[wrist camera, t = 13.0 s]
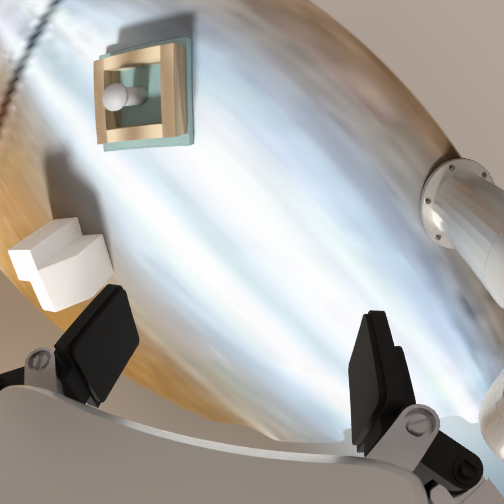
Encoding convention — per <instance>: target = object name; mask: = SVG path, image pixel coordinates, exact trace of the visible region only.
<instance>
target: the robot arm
mask: <svg viewBox="0 0 504 504" xmlns="http://www.w3.org/2000/svg"><path fill="white" fill-rule="evenodd" d="M450 166H451V167H450ZM449 167H450V168H449ZM426 198H427V200H426ZM420 215H421V220H422V223H423V226H424V228H425V230H426V231H427V233H428V234H429V235H430V237H431V238H432V239H433V240H434V241H435V242H436V243H438V244H440V245H441V246H444V247H447V248H453V249H456V250H457V251H458V253H459V254H460V255H461V256H462V258H463V259H464V260H465V261H466V263H467V264H468V265H469V266H470V268H471V269H472V270H473V272H474V273H475V274H476V276H477V277H478V278H479V279H480V281H481V282H482V284H483V285H484V286H485V288H486V289H487V290H488V292H489V293H490V294H491V296H492V297H493V298H494V300H495V301H496V302H497V303H498V305H499V306H500V307H502V308H503V309H504V190H502V189H501V188H499V187H497V186H496V185H494V182H493V179H492V178H491V176H490V174H489V172H488V171H487V170H486V169H485V168H484V167H483V166H482V165H480V164H479V163H477V162H475V161H473V160H470V159H466V158H455V159H451V160H448V161H446V162H444V163H442V164H441V165H440V166H438V167H437V168H436V169H435V170H434V171H433V172H432V174H431V175H430V176H429V178H428V179H427V181H426V183H425V185H424V188H423V190H422V194H421V199H420ZM436 235H437V236H436ZM138 344H139V335H138V332H137V329H136V325H135V322H134V319H133V315H132V312H131V308H130V305H129V301H128V297H127V293H126V291H125V290H123V288H122V286H120V285H113V284H108V285H106V286H105V288H104V289H103V290H102V291H101V292H100V293H99V294H98V295H97V296H96V297H95V299H94V300H93V301H92V302H91V303H90V304H89V305H88V306H87V307H86V309H85V310H84V311H83V312H82V313H81V314H80V315H79V317H78V318H77V319H76V320H75V321H74V322H73V324H72V325H71V326H70V327H69V328H68V329H67V331H66V332H65V333H64V334H63V335H62V337H61V338H60V339H59V340H58V341H57V343H56V344H55V345H54V347H55V349H56V350H55V351H54V352H53V351H52V350H51V349H49V348H38V349H36V350H34V351H33V352H31V353H30V354H29V355H28V357H27V358H26V361H25V366H24V367H21V368H18V369H15V370H12V371H9V372H5V373H2V374H0V504H504V498H503V496H502V495H501V494H500V492H499V491H498V490H497V488H496V487H495V486H494V485H493V483H492V482H491V481H490V479H489V478H488V479H486V480H485V478H484V477H483V476H482V475H483V464H482V462H481V460H480V458H479V457H478V456H477V455H475V454H474V453H472V452H471V451H469V450H468V449H466V448H465V447H463V446H462V445H460V444H459V443H458V442H456V441H454V440H453V439H452V438H450V437H449V436H447V435H446V434H444V433H443V432H441V431H440V430H439V428H440V420H439V417H438V415H437V414H436V412H435V411H434V410H433V409H431V408H430V407H428V406H426V405H422V404H416V400H415V396H414V391H413V387H412V383H411V379H410V375H409V371H408V367H407V363H406V359H405V355H404V352H403V349H402V347H401V346H394V342H393V339H392V335H391V331H390V328H389V324H388V320H387V317H386V313H385V311H374V310H370V311H369V312H368V314H364V315H363V318H362V321H361V325H360V328H359V332H358V336H357V339H356V342H355V346H354V349H353V352H352V356H351V359H350V362H349V367H348V374H349V388H350V405H351V426H352V444H353V445H357V452H364V456H365V458H363V457H354V456H337V455H319V454H303V453H291V452H281V451H271V450H262V449H254V448H247V447H240V446H234V445H228V444H222V443H217V442H212V441H206V440H202V439H197V438H193V437H188V436H184V435H179V434H175V433H172V432H168V431H164V430H160V429H156V428H153V427H149V426H146V425H143V424H139V423H136V422H133V421H130V420H127V419H124V418H121V417H118V416H115V415H112V414H109V413H106V412H104V411H101V410H98V409H96V408H93V407H90V406H88V405H85V404H86V402H87V403H88V404H89V405H92V406H95V407H97V408H98V407H99V405H100V403H101V402H104V401H105V400H106V398H107V396H108V395H109V393H110V391H111V389H112V388H113V386H114V384H115V383H116V381H117V379H118V378H119V376H120V374H121V373H122V371H123V369H124V368H125V366H126V364H127V363H128V361H129V359H130V358H131V356H132V354H133V353H134V351H135V349H136V348H137V346H138ZM479 425H480V430H481V433H482V435H483V438H484V440H485V442H486V443H487V445H488V446H489V448H490V449H491V450H492V451H493V452H494V453H495V454H496V455H497V456H498V457H499V458H500V459H501V460H502V461H504V369H503V370H502V371H501V373H500V374H499V376H498V377H497V378H496V380H495V381H494V382H493V384H492V385H491V387H490V388H489V389H488V391H487V393H486V394H485V396H484V399H483V401H482V403H481V407H480V411H479Z"/></svg>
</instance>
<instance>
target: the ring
mask: <svg viewBox="0 0 504 504" xmlns="http://www.w3.org/2000/svg"><path fill="white" fill-rule="evenodd" d="M159 63H160V80H161V113H162V123H151V124H142V125H133V126H125V127H122V124H121V109H120V110H117V111H109V110H107V109H106V108H105V107H104V105H103V101H102V96H103V93H104V90H105V89H106V88H107V87H108V86H109V85H111V84H114V83H120V76H119V71H123V70H127V69H132V68H137V67H142V66H147V65H153V64H159ZM94 100H95V118H96V131H97V142H98V144H103V143H111V142H120V141H130V140H140V139H152V138H166V137H177V136H180V135H184V134H187V112H186V48H185V47H183V46H180V45H178V44H175V43H170V44H165V45H159V46H154V47H149V48H144V49H139V50H135V51H130V52H126V53H122V54H118V55H114V56H111V57H107V58H104V59H100V60H97V61H94Z"/></svg>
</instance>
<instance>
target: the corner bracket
mask: <svg viewBox="0 0 504 504" xmlns="http://www.w3.org/2000/svg"><path fill="white" fill-rule="evenodd" d="M8 253H9V255H10V258H11V261H12V263H13V266H14V268H15V271H16V273H17V275H18V278H19V280H24V281H30V282H31V284H32V286H33V289H34V291H35V293H36V295H37V297H38V300H39V302H40V304H41V306H42V308H43V310H48V311H53V312H57V311H60V310H62V309H65V308H67V307H70V306H72V305H74V304H77V303H79V302H82V301H84V300H87V299H90V298H92V297H93V296H94V295H95V294H96V293H97V291H98V290H99V289H100V288H101V287H102V286H103V285H104V284H105V283H106V282H107V281H108V280H109V279H110V278H111V277H112V275H113V274H114V270H113V267H112V264H111V261H110V257H109V254H108V251H107V247H106V244H105V241H104V237H103V234H96V235H83V234H82V231H81V228H80V224H79V221H78V217H72V218H63V219H54V220H52V221H50V222H48V223H47V224H45V225H44V226H42V227H41V228H39V229H38V230H36V231H35V232H33V233H32V234H30V235H29V236H27V237H26V238H24V239H23V240H21V241H20V242H18V243H17V244H16V245H14V246H13V247H11V248H10V249H9V250H8Z"/></svg>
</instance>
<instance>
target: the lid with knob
mask: <svg viewBox="0 0 504 504" xmlns="http://www.w3.org/2000/svg"><path fill="white" fill-rule="evenodd" d="M170 43H175V44H178V45H180V46H183V47H185V48H186V112H187V134H184V135H180V136H177V137H166V138H152V139H140V140H130V141H120V142H111V143H103V146H104V152H105V151H115V150H125V149H137V148H151V147H167V146H190V145H192V144H194V140H193V112H192V39H191V38H189V37H182V38H176V39H170V40H164V41H159V42H154V43H149V44H144V45H139V46H135V47H131V48H127V49H123V50H119V51H115V52H112V53H108V54H105V55H101V56H99V60H100V59H104V58H107V57H111V56H114V55H118V54H122V53H126V52H130V51H135V50H139V49H144V48H149V47H154V46H159V45H165V44H170ZM119 76H120V83H114V84H111V85H109V86H108V87H107V88H106V89H105V90H104V93H103V96H102V101H103V105H104V107H105V108H106V109H107V110H109V111H117V110H120V109H121V124H122V127H125V126H133V125H142V124H151V123H162V113H161V80H160V63H159V64H153V65H147V66H142V67H137V68H132V69H127V70H123V71H119Z"/></svg>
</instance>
